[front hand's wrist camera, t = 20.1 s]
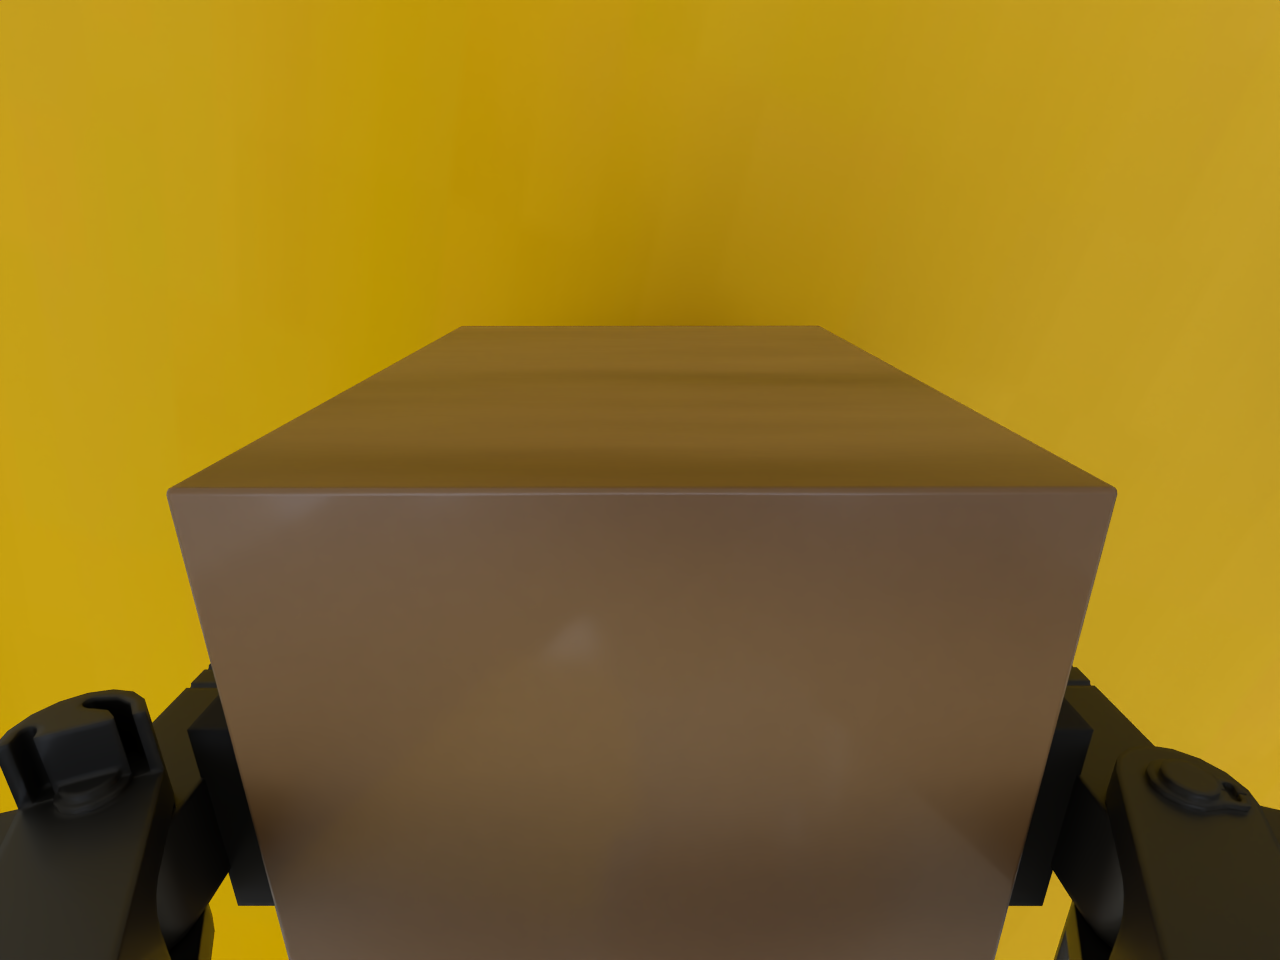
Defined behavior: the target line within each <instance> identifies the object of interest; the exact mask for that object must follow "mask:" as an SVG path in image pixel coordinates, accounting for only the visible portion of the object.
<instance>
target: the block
mask: <svg viewBox="0 0 1280 960" xmlns="http://www.w3.org/2000/svg"><path fill="white" fill-rule="evenodd" d="M1116 497H1117V490H1116V488H1115V487H1113V486H1111V485H1109V484H1108V483H1106V482H1104V481H1102V480H1100V479H1098V478H1097V477H1095V476H1093V475H1091V474H1089V473H1087V472H1086V471H1084V470H1082V469H1080V468H1078V467H1076V466H1075V465H1073V464H1071V463H1069V462H1067V461H1065V460H1064V459H1062V458H1060V457H1058V456H1056V455H1054V454H1053V453H1051V452H1049V451H1047V450H1045V449H1043V448H1042V447H1040V446H1038V445H1036V444H1034V443H1032V442H1031V441H1029V440H1027V439H1025V438H1023V437H1021V436H1020V435H1018V434H1016V433H1014V432H1012V431H1010V430H1009V429H1007V428H1005V427H1003V426H1001V425H999V424H998V423H996V422H994V421H992V420H990V419H988V418H987V417H985V416H983V415H981V414H979V413H977V412H976V411H974V410H972V409H970V408H968V407H966V406H965V405H963V404H961V403H959V402H957V401H955V400H954V399H952V398H950V397H948V396H946V395H944V394H943V393H941V392H939V391H937V390H935V389H933V388H932V387H930V386H928V385H926V384H924V383H922V382H921V381H919V380H917V379H915V378H913V377H911V376H910V375H908V374H906V373H904V372H902V371H900V370H899V369H897V368H895V367H893V366H891V365H889V364H888V363H886V362H884V361H882V360H880V359H878V358H877V357H875V356H873V355H871V354H869V353H867V352H866V351H864V350H862V349H860V348H858V347H856V346H855V345H853V344H851V343H849V342H847V341H845V340H844V339H842V338H840V337H838V336H836V335H834V334H833V333H831V332H829V331H827V330H825V329H824V328H822V327H820V326H461V327H459V328H458V329H456V330H454V331H452V332H450V333H449V334H447V335H445V336H443V337H441V338H440V339H438V340H436V341H434V342H432V343H431V344H429V345H427V346H425V347H423V348H422V349H420V350H418V351H416V352H414V353H412V354H411V355H409V356H407V357H405V358H403V359H402V360H400V361H398V362H396V363H394V364H393V365H391V366H389V367H387V368H385V369H384V370H382V371H380V372H378V373H376V374H375V375H373V376H371V377H369V378H367V379H366V380H364V381H362V382H360V383H358V384H357V385H355V386H353V387H351V388H349V389H348V390H346V391H344V392H342V393H340V394H339V395H337V396H335V397H333V398H331V399H330V400H328V401H326V402H324V403H322V404H321V405H319V406H317V407H315V408H313V409H312V410H310V411H308V412H306V413H304V414H303V415H301V416H299V417H297V418H295V419H294V420H292V421H290V422H288V423H286V424H285V425H283V426H281V427H279V428H277V429H275V430H274V431H272V432H270V433H268V434H266V435H265V436H263V437H261V438H259V439H257V440H256V441H254V442H252V443H250V444H248V445H247V446H245V447H243V448H241V449H239V450H238V451H236V452H234V453H232V454H230V455H229V456H227V457H225V458H223V459H221V460H220V461H218V462H216V463H214V464H212V465H211V466H209V467H207V468H205V469H203V470H202V471H200V472H198V473H196V474H194V475H193V476H191V477H189V478H187V479H185V480H184V481H182V482H180V483H178V484H176V485H175V486H173V487H171V488H169V489H168V491H167V499H168V503H169V506H170V510H171V514H172V518H173V521H174V525H175V529H176V533H177V537H178V540H179V544H180V548H181V552H182V556H183V559H184V563H185V567H186V571H187V575H188V578H189V582H190V586H191V590H192V593H193V597H194V601H195V605H196V609H197V612H198V616H199V620H200V624H201V628H202V631H203V635H204V639H205V643H206V647H207V650H208V654H209V658H210V662H211V666H212V669H213V673H214V677H215V681H216V684H217V688H218V692H219V696H220V700H221V703H222V707H223V711H224V715H225V719H226V722H227V726H228V730H229V734H230V738H231V741H232V745H233V749H234V753H235V756H236V760H237V764H238V768H239V772H240V775H241V779H242V783H243V787H244V791H245V794H246V798H247V802H248V806H249V810H250V813H251V817H252V821H253V825H254V828H255V832H256V836H257V840H258V844H259V847H260V851H261V855H262V859H263V863H264V866H265V870H266V874H267V878H268V882H269V885H270V889H271V893H272V897H273V900H274V904H275V908H276V912H277V916H278V919H279V923H280V927H281V931H282V935H283V938H284V942H285V946H286V950H287V954H288V957H289V960H994V959H995V955H996V951H997V947H998V944H999V940H1000V936H1001V932H1002V928H1003V925H1004V921H1005V917H1006V913H1007V909H1008V906H1009V902H1010V898H1011V894H1012V891H1013V887H1014V883H1015V879H1016V875H1017V872H1018V868H1019V864H1020V860H1021V856H1022V853H1023V849H1024V845H1025V841H1026V838H1027V834H1028V830H1029V826H1030V822H1031V819H1032V815H1033V811H1034V807H1035V803H1036V800H1037V796H1038V792H1039V788H1040V785H1041V781H1042V777H1043V773H1044V769H1045V766H1046V762H1047V758H1048V754H1049V750H1050V747H1051V743H1052V739H1053V735H1054V732H1055V728H1056V724H1057V720H1058V716H1059V713H1060V709H1061V705H1062V701H1063V697H1064V694H1065V690H1066V686H1067V682H1068V679H1069V675H1070V671H1071V667H1072V663H1073V660H1074V656H1075V652H1076V648H1077V644H1078V641H1079V637H1080V633H1081V629H1082V626H1083V622H1084V618H1085V614H1086V610H1087V607H1088V603H1089V599H1090V595H1091V591H1092V588H1093V584H1094V580H1095V576H1096V573H1097V569H1098V565H1099V561H1100V557H1101V554H1102V550H1103V546H1104V542H1105V538H1106V535H1107V531H1108V527H1109V523H1110V520H1111V516H1112V512H1113V508H1114V504H1115V501H1116Z"/></svg>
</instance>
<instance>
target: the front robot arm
mask: <svg viewBox="0 0 1280 960" xmlns="http://www.w3.org/2000/svg"><path fill="white" fill-rule="evenodd" d="M0 766H1V769H2V771H3V774H4V776H5V778H6V781H7V783H8V785H9V788H10V790H11V793H12V795H13V797H14V800H15V802H16V804H17V807H18V810H13V811H9V812H4V813H0V960H211V956H212V947H213V939H214V931H215V930H214V924H213V917H212V913H211V910H210V907H209V902H210V900H211V899H212V897H213V896H214V894H215V892H216V891H217V889H218V888H219V886H220V885H221V883H222V881H223V880H224V878H225V877H226V875H227V874H228V873H229V876H230V879H231V883H232V886H233V890H234V893H235V897H236V900H237V903H238V906H275V904H274V900H273V897H272V893H271V889H270V885H269V882H268V878H267V874H266V870H265V866H264V863H263V859H262V855H261V851H260V847H259V844H258V840H257V836H256V832H255V828H254V825H253V821H252V817H251V813H250V810H249V806H248V802H247V798H246V794H245V791H244V787H243V783H242V779H241V775H240V772H239V768H238V764H237V760H236V756H235V753H234V749H233V745H232V741H231V738H230V734H229V730H228V726H227V722H226V719H225V715H224V711H223V707H222V703H221V700H220V696H219V692H218V688H217V684H216V681H215V677H214V673H213V669H212V666H211V664H210V665H209V669H208V670H204V671H203V672H202V673H201V674H200V675H199V676H198V677H197V678H196V679H195V680H194V681H193V682H192V683H191V687H190V688H186V689H185V690H184V691H183V692H182V693H181V694H180V695H179V696H178V697H177V698H176V699H175V700H174V701H173V702H172V703H171V704H170V705H169V706H168V707H167V708H166V709H165V710H164V711H163V712H162V713H161V715H160V716H159V717H158V718H157V719H156V720H155V721H154V722H153V723H152V721H151V718H150V715H149V712H148V708H147V705H146V702H145V699H144V698H142V697H141V696H139V695H138V694H136V693H135V692H133V691H124V690H114V689H113V690H106V691H99V692H91V693H86V694H83V695H80V696H76V697H73V698H70V699H67V700H63V701H60V702H58V703H56V704H53V705H51V706H49V707H47V708H45V709H43V710H41V711H39V712H36V713H34V714H32V715H30V716H29V717H28V718H26V719H25V720H23V721H22V722H20V723H19V724H17V725H16V726H14V727H13V728H11V729H10V730H8V731H7V732H6V734H5V735H4V736H3V737H2V738H1V739H0ZM1052 871H1054V872H1055V874H1056V876H1057V877H1058V879H1059V880H1060V882H1061V883H1062V885H1063V886H1064V888H1065V890H1066V891H1067V893H1068V894H1069V896H1070V897H1071V899H1072V903H1071V907H1070V910H1069V913H1068V916H1067V919H1066V923H1065V926H1064V929H1063V932H1062V935H1061V939H1060V942H1059V945H1058V948H1057V951H1056V955H1055V958H1054V960H1280V810H1276V809H1272V808H1267V807H1263V806H1260V805H1259V804H1258V802H1257V801H1256V800H1255V798H1254V797H1253V796H1252V795H1251V793H1250V792H1249V791H1248V790H1247V789H1246V788H1245V787H1244V786H1242V785H1241V784H1240V783H1238V782H1237V781H1236V780H1235V779H1233V778H1232V777H1231V776H1230V775H1228V774H1227V773H1226V772H1224V771H1222V770H1220V769H1218V768H1216V767H1214V766H1213V765H1211V764H1209V763H1207V762H1205V761H1203V760H1201V759H1200V758H1197V757H1194V756H1191V755H1188V754H1185V753H1182V752H1179V751H1176V750H1174V749H1169V748H1162V747H1155V746H1154V745H1153V744H1152V743H1151V742H1150V741H1149V740H1148V739H1147V738H1146V737H1145V736H1144V735H1143V734H1142V733H1141V732H1140V731H1139V730H1138V729H1137V728H1136V727H1135V726H1134V725H1133V724H1132V723H1131V722H1130V721H1129V720H1128V719H1127V718H1126V717H1125V716H1124V715H1123V714H1122V713H1121V712H1120V711H1119V710H1118V709H1117V708H1116V707H1115V706H1114V705H1113V704H1112V703H1111V702H1110V701H1109V700H1108V699H1107V698H1106V697H1105V696H1104V695H1103V694H1102V693H1101V692H1100V691H1099V690H1098V689H1097V687H1096V686H1091V685H1090V680H1089V679H1088V678H1087V677H1086V676H1085V675H1084V674H1083V673H1082V672H1081V671H1080V670H1079V669H1078V668H1077V667H1073V666H1072V667H1071V671H1070V675H1069V679H1068V682H1067V686H1066V690H1065V694H1064V697H1063V701H1062V705H1061V709H1060V713H1059V716H1058V720H1057V724H1056V728H1055V732H1054V735H1053V739H1052V743H1051V747H1050V750H1049V754H1048V758H1047V762H1046V766H1045V769H1044V773H1043V777H1042V781H1041V785H1040V788H1039V792H1038V796H1037V800H1036V803H1035V807H1034V811H1033V815H1032V819H1031V822H1030V826H1029V830H1028V834H1027V838H1026V841H1025V845H1024V849H1023V853H1022V856H1021V860H1020V864H1019V868H1018V872H1017V875H1016V879H1015V883H1014V887H1013V891H1012V894H1011V898H1010V902H1009V906H1042V905H1043V902H1044V898H1045V895H1046V892H1047V888H1048V885H1049V881H1050V878H1051V874H1052Z"/></svg>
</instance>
